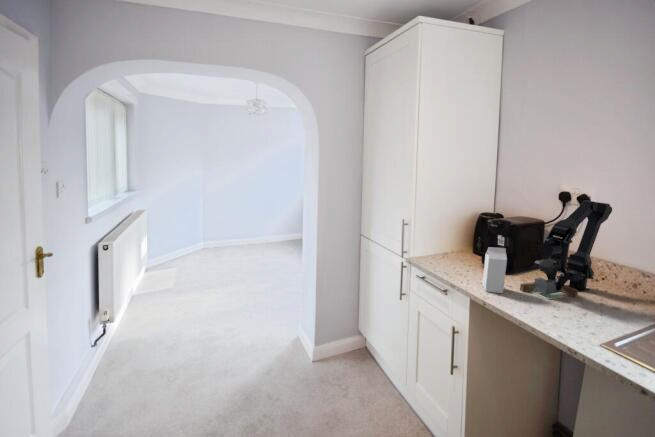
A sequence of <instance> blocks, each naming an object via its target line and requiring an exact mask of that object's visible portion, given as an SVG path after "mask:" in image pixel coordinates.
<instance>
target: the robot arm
mask: <svg viewBox="0 0 655 437" xmlns="http://www.w3.org/2000/svg"><path fill="white" fill-rule="evenodd" d="M612 212H613V207H612V206H611V205H610V203H608V202H607V203H605V202H599V201H592V200H582V201H581V203H580V205H579V206H578V207H577V208H575V210H574V211H573V212H571V213H570V214H569V216H568V217H566V218H565V219H562V220H561V219H560V220H559V221H557V222H556V223H554V224H553V226H552V227H551V229H550V231H549V232H548V234H547V236H546V238H545V240H544V242H542V243H541V244H540V245H539V246H538V252H539V254H540V256H542V257H543V258H547V259H538V260H535V261H534V263H533V267H534V268H537V269H539V271H540V272H542V273H544V274H545V275H546V278H547V280H549V279H556V278H558V284H557V291H559V290H560V289H561V288H562V287H563V285H566V286H569V287H571V288H574V289H576V290H578V292H585V291H590V288H588V287H587V286H588V279H590V280H591V279H593V277H594V274H595V272H594V270H593V267H592V259H591V256H590V255H591V252H592V250H593V247H594V244H595V241H596V239H597V236H598V233H599V231H600V228H601V225H602V224H603V223H605V222H606V221H608V219H609V217H610V215H611V214H612ZM586 219H587V222H586V226H585V228H584V230H583V233H582V235H581V236H582V237H581V239H580V242H579V245H578V247H577V250H576V252H574V253H571V254H569V250H570V244H573V240H572V239H573V237H575V235H576V233H577V231H578V230H577V228H578V226H579V225H580V224H582V223H583V222H584V221H585V220H586ZM558 273H559V274H560V275H558ZM568 281H569V284H566V283H567V282H568Z"/></svg>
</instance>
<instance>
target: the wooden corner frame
mask: <svg viewBox="0 0 655 437" xmlns="http://www.w3.org/2000/svg"><path fill="white" fill-rule="evenodd" d="M534 283H535V281H532V282H531V281H530V282H525V283H520V284H519V291H520V292H522V293H523V292H530V291H534ZM566 285H567V284H564V285H563V288H562V292H561V293H563V294H566V295H567V296H570V297H572V298H577V297H578V293H579V291H578V290H576V289H574V288H571V287H569V286H566Z"/></svg>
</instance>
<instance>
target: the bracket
mask: <svg viewBox="0 0 655 437" xmlns="http://www.w3.org/2000/svg"><path fill="white" fill-rule="evenodd" d="M534 282H535V283H534V290H536V291H539V292H541V293H543V294H545V295H547V294H553V293H557V294H560V293H563V292H562V288H563V287H562V288H561V289H560V290H559V291H557V284H558V278H557V277H556V279H549V280H548V279H545V278H542V277H537V278H536V277H535V278H534ZM534 290H533V291H534Z"/></svg>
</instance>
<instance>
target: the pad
mask: <svg viewBox="0 0 655 437" xmlns="http://www.w3.org/2000/svg"><path fill="white" fill-rule="evenodd" d="M529 292H531V293H533V294H535V295H537V296H540V297H542V298H544V299H546V300H555V299H561V298H565V296H563V295H562V294H560V293H553V294H547V295H545V294H543V293H541V292H539V291H536V290H530V291H529Z"/></svg>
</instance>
